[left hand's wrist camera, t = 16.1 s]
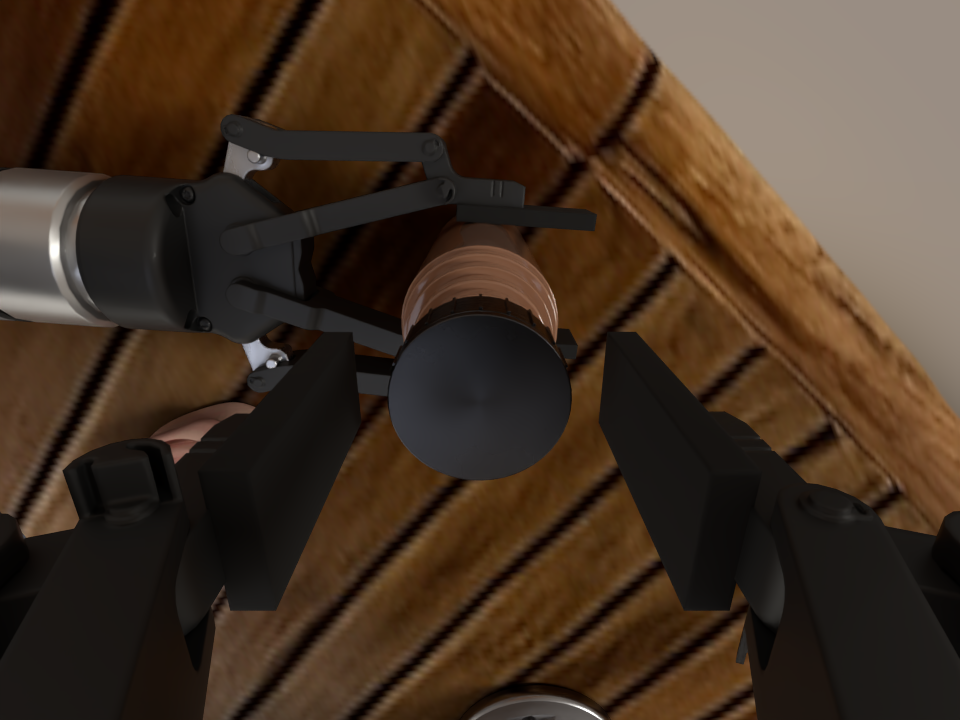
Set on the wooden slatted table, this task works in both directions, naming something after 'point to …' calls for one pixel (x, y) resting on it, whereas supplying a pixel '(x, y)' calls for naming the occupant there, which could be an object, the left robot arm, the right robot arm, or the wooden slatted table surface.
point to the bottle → (479, 273)
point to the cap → (479, 389)
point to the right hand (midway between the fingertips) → (579, 284)
